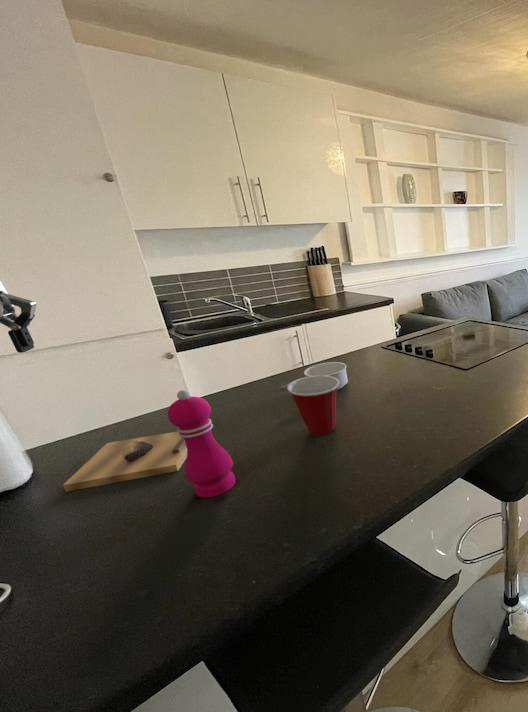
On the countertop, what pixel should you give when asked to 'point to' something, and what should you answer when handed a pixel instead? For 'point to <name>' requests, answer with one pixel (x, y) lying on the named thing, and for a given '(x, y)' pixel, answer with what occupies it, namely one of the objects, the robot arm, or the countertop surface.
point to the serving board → (114, 468)
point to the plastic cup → (316, 402)
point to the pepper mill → (201, 446)
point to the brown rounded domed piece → (135, 450)
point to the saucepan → (327, 372)
